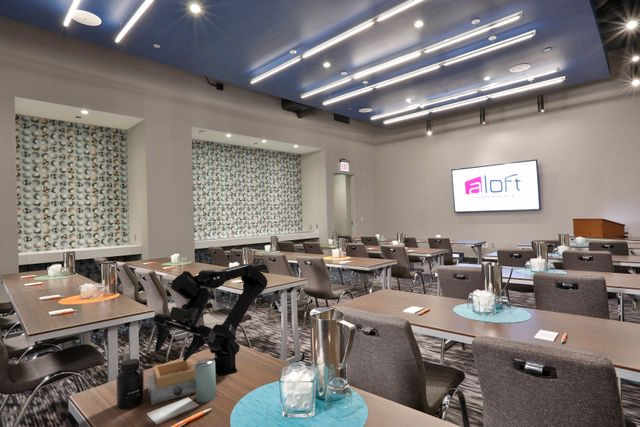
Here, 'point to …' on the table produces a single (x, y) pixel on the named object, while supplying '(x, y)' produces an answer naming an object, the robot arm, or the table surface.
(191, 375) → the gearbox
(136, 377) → the supplement bottle
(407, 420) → the table surface
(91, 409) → the table surface
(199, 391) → the tin can
